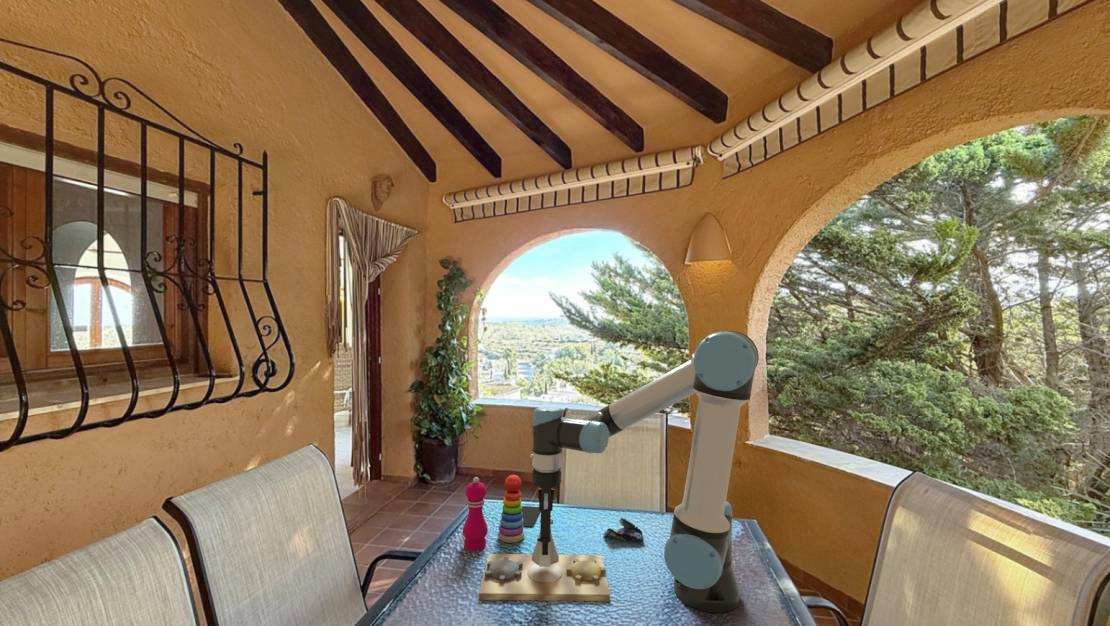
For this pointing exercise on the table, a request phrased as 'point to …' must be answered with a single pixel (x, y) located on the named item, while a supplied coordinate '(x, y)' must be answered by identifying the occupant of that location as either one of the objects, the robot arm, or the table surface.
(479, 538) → the pepper mill
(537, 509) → the phone
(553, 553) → the flask
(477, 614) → the table surface
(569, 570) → the gear board
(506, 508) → the stacking toy
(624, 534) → the snack package
